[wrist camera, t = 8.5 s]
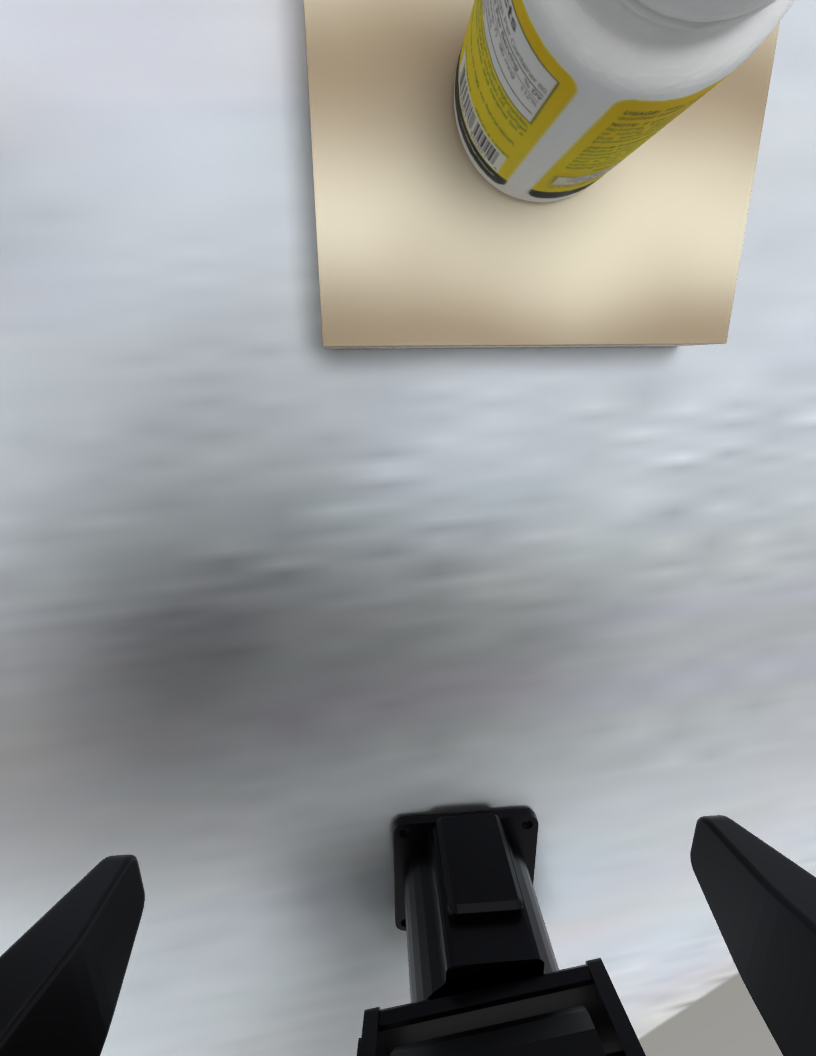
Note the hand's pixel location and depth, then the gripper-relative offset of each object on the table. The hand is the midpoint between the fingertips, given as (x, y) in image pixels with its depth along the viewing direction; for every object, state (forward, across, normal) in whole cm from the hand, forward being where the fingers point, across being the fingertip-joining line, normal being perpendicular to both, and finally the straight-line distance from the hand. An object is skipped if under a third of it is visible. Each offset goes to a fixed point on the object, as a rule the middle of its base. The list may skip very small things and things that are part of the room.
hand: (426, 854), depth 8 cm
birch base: (+12, -4, -14) cm, 19 cm away
